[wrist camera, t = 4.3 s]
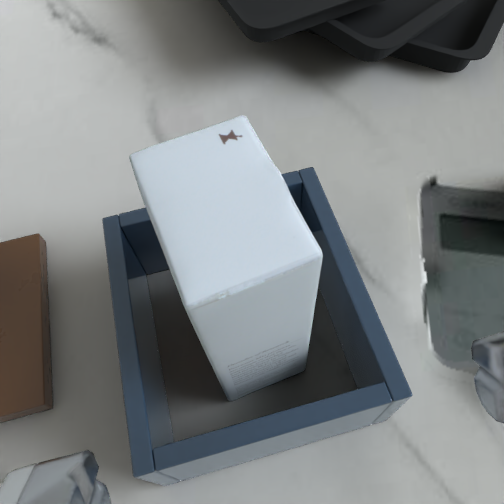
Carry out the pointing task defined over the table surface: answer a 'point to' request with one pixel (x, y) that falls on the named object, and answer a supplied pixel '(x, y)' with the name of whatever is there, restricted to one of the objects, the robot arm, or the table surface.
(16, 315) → the coaster
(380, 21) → the tray
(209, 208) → the cosmetic box
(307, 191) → the holder
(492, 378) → the robot arm
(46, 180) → the table surface
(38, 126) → the table surface
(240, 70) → the table surface
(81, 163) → the table surface
